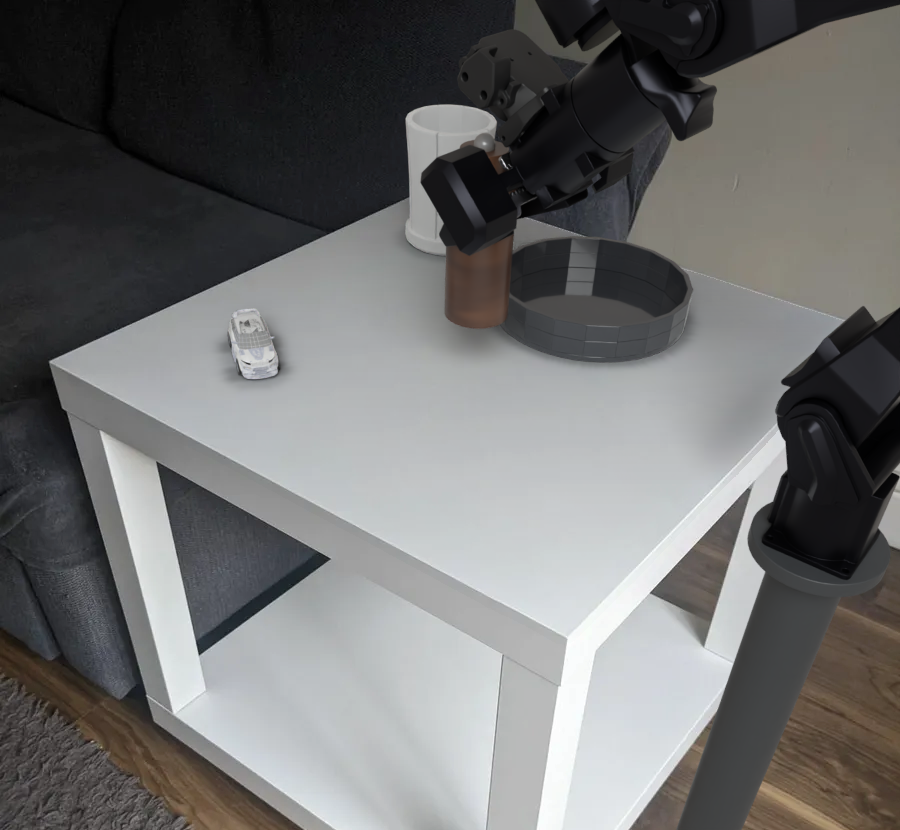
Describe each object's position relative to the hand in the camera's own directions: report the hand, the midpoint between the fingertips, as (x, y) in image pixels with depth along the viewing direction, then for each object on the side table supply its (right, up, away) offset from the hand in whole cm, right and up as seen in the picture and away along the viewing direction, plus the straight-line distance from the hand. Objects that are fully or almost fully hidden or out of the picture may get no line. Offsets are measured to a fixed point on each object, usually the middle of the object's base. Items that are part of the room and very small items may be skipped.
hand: (466, 229), depth 77 cm
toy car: (-18, -8, +9) cm, 22 cm away
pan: (+12, -2, +17) cm, 21 cm away
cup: (-1, +9, +27) cm, 28 cm away
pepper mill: (+1, -5, +4) cm, 7 cm away
